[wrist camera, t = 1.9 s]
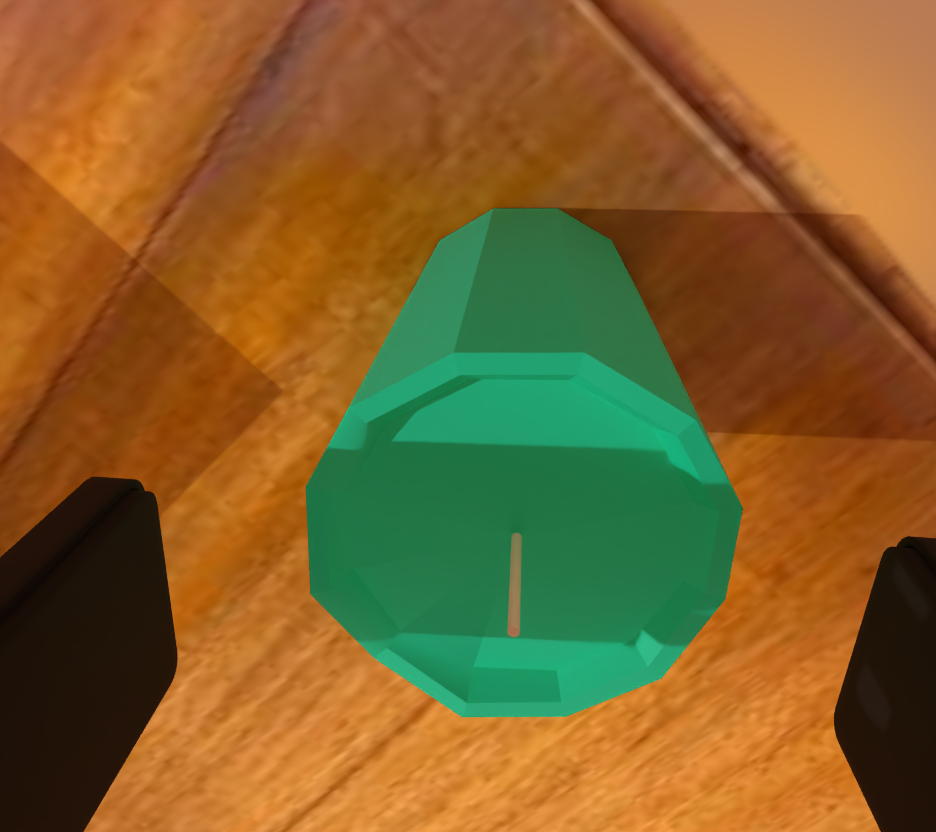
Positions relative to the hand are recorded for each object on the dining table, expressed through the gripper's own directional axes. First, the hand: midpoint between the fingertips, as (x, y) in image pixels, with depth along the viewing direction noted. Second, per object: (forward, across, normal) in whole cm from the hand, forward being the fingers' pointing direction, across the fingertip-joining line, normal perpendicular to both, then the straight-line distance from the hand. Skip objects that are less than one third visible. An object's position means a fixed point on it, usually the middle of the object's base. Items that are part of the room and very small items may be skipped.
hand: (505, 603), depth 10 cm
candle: (+11, 0, -1) cm, 11 cm away
